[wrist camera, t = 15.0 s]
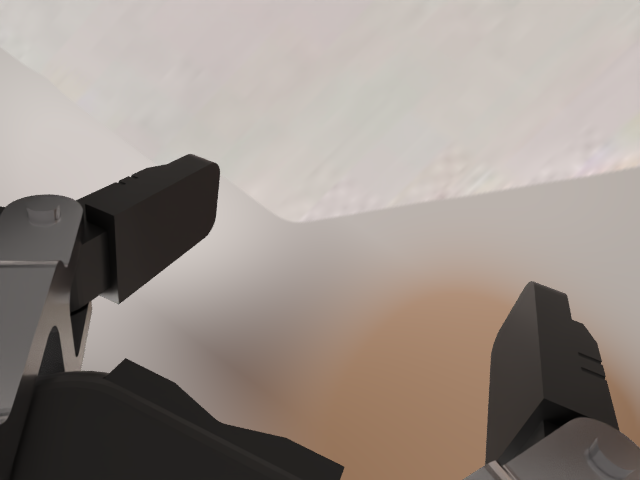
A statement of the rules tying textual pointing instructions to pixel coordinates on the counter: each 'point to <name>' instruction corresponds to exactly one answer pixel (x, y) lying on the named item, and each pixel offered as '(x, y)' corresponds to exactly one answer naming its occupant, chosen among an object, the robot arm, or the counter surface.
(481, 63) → the counter surface
